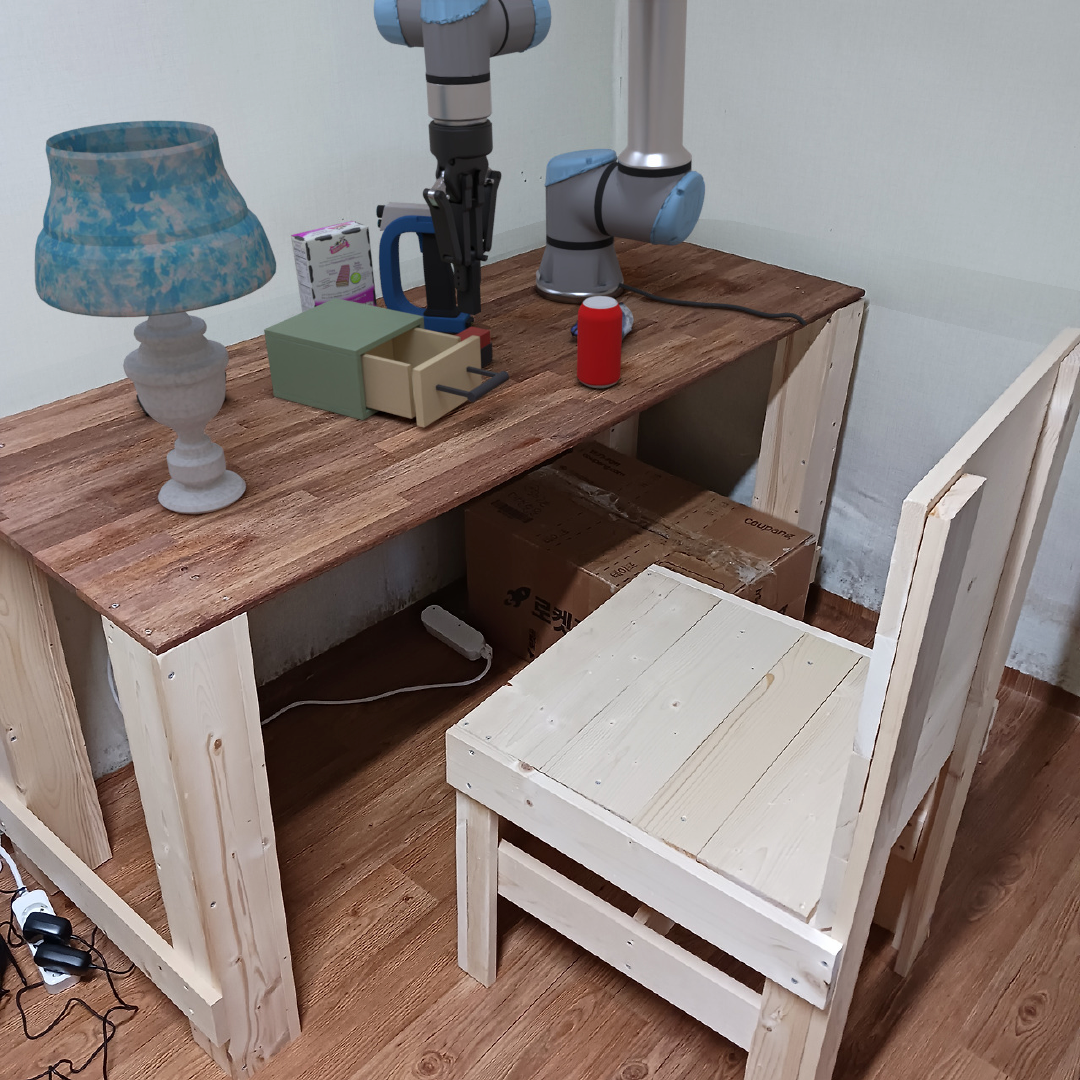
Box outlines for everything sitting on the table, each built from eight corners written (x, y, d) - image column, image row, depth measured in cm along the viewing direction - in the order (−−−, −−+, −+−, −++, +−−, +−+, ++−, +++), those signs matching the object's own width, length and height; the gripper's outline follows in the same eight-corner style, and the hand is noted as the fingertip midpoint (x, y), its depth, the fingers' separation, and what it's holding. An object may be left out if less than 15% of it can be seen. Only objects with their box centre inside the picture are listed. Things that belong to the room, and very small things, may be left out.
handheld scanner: (479, 335, 168) (475, 208, 158) (382, 329, 171) (372, 204, 161) (486, 326, 172) (483, 201, 162) (391, 320, 175) (382, 197, 165)
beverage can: (627, 379, 153) (630, 298, 147) (608, 394, 148) (610, 311, 142) (589, 371, 156) (590, 291, 149) (569, 386, 151) (569, 304, 145)
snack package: (662, 341, 166) (618, 317, 174) (660, 303, 162) (614, 281, 170) (600, 369, 162) (557, 344, 170) (595, 331, 158) (552, 307, 166)
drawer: (521, 400, 145) (520, 344, 141) (464, 438, 135) (461, 380, 131) (397, 370, 154) (393, 318, 150) (336, 404, 144) (329, 349, 140)
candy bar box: (363, 320, 175) (352, 219, 166) (380, 328, 171) (370, 225, 163) (303, 337, 168) (289, 233, 160) (319, 346, 165) (306, 239, 156)
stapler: (473, 357, 161) (472, 325, 158) (492, 361, 159) (491, 329, 157) (443, 375, 155) (441, 342, 152) (462, 379, 153) (461, 347, 151)
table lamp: (214, 433, 139) (153, 105, 118) (349, 482, 127) (308, 128, 106) (51, 509, 122) (-53, 143, 101) (189, 573, 111) (103, 175, 90)
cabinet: (428, 382, 153) (423, 316, 148) (362, 420, 142) (355, 350, 137) (342, 361, 160) (335, 297, 155) (273, 396, 149) (263, 329, 144)
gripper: (468, 107, 132) (476, 292, 145) (399, 125, 123) (414, 321, 135) (517, 113, 128) (522, 302, 141) (450, 132, 119) (461, 332, 132)
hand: (469, 311), depth 138 cm, fingers closed
